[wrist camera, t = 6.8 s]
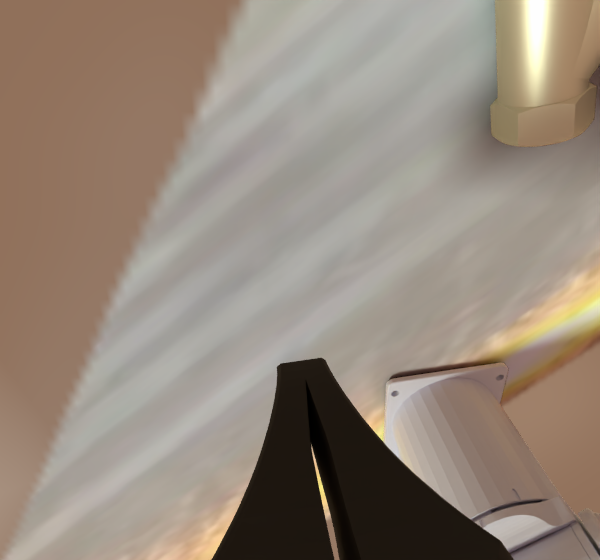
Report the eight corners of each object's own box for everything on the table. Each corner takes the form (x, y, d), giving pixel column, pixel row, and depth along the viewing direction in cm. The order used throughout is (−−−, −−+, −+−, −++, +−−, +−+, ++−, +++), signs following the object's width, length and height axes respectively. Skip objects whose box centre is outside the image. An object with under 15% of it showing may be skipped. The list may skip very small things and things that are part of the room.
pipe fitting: (636, -135, 17) (468, -78, 16) (745, -171, 13) (536, -101, 13) (613, 86, 21) (479, 133, 21) (690, 99, 18) (533, 155, 18)
